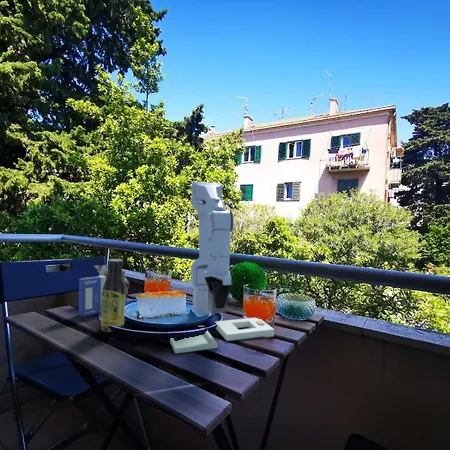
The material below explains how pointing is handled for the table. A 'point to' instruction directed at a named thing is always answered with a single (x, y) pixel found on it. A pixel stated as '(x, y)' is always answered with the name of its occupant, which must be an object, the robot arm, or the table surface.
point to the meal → (104, 272)
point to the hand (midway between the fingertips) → (217, 305)
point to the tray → (194, 343)
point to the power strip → (256, 329)
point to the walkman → (90, 295)
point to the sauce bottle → (113, 297)
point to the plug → (212, 304)
